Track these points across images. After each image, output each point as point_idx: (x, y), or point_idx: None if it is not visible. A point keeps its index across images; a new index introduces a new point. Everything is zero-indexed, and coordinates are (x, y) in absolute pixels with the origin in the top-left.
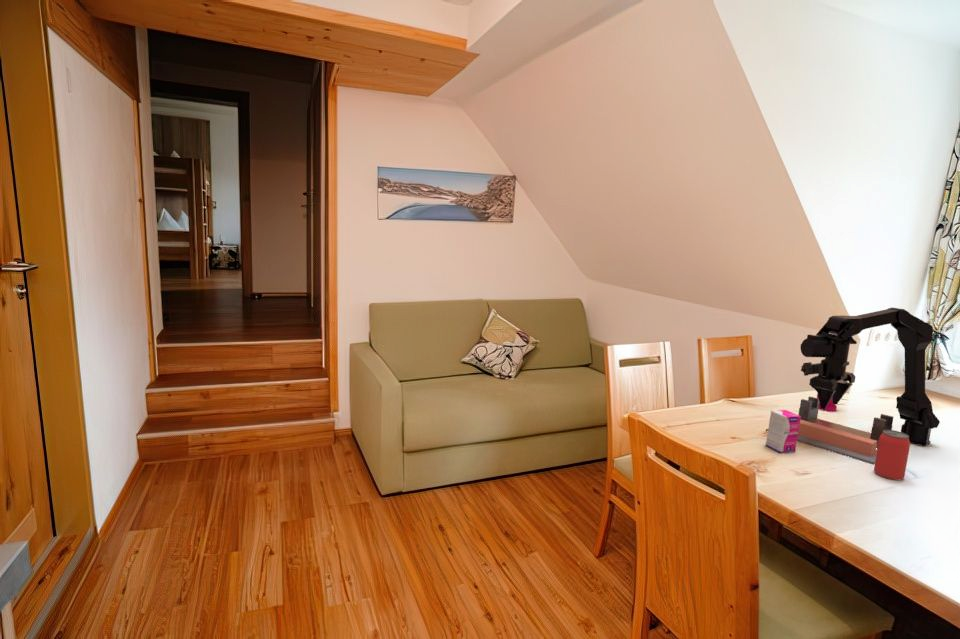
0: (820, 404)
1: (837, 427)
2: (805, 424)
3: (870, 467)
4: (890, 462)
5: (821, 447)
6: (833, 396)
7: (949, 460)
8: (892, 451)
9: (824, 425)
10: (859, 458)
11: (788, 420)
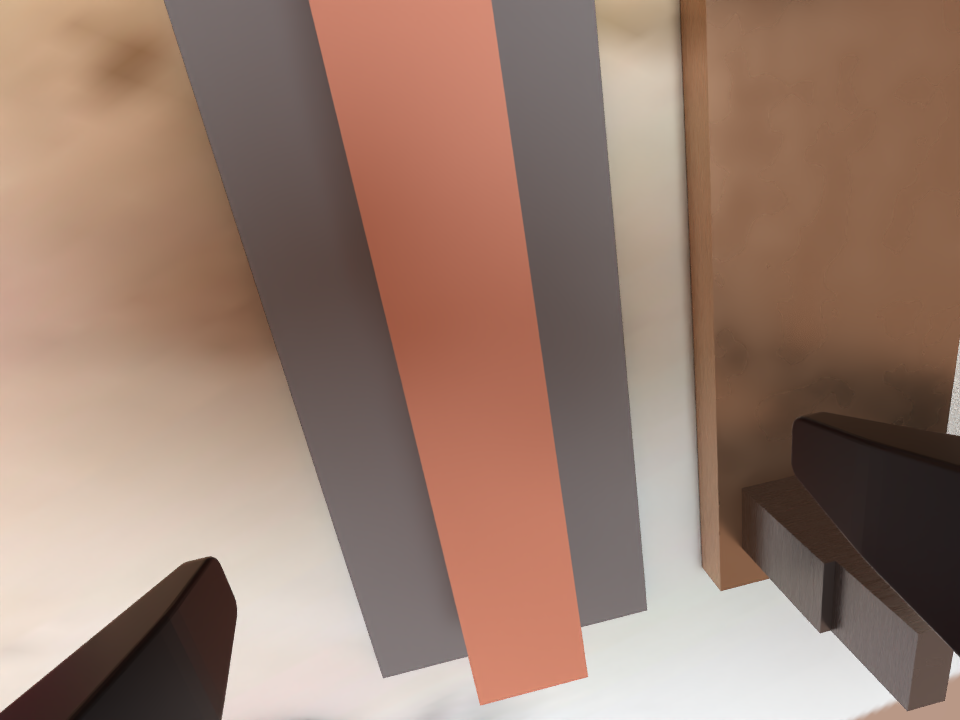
0: (121, 630)
1: (877, 192)
2: (360, 175)
3: (314, 688)
4: None
5: (295, 396)
6: (938, 487)
7: (864, 708)
8: None
9: (833, 97)
10: (363, 615)
11: None
